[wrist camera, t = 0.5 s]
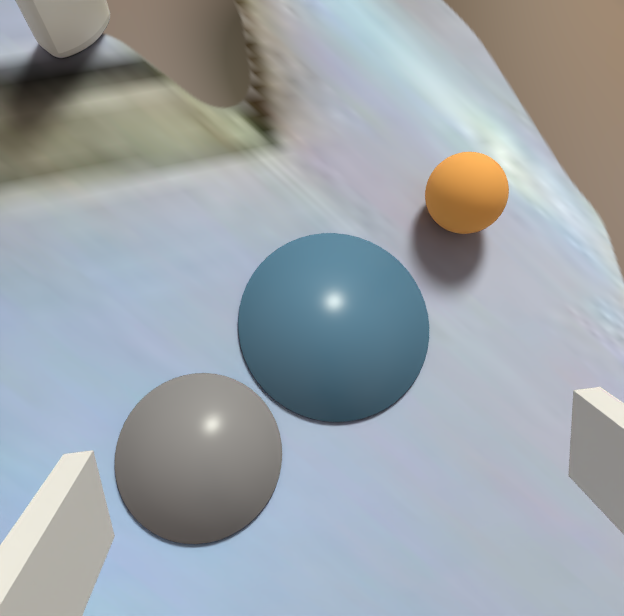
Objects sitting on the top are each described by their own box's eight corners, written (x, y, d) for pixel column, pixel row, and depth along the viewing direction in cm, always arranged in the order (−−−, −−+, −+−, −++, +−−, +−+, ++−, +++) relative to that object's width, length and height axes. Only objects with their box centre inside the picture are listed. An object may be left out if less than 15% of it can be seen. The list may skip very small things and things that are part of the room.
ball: (489, 247, 38) (529, 214, 32) (416, 244, 37) (445, 210, 32) (482, 179, 39) (519, 138, 34) (412, 175, 38) (439, 132, 33)
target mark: (434, 422, 34) (435, 422, 33) (234, 421, 32) (234, 421, 32) (422, 238, 37) (423, 237, 37) (241, 230, 36) (241, 229, 35)
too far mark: (280, 541, 31) (280, 542, 30) (107, 545, 30) (106, 546, 29) (282, 374, 33) (283, 374, 33) (123, 372, 32) (122, 371, 32)
